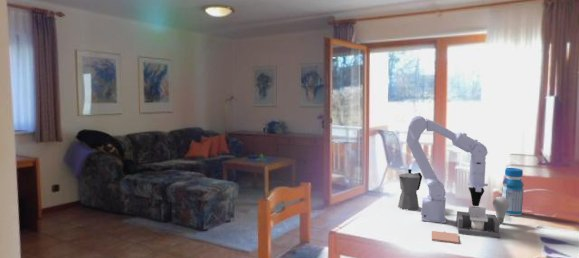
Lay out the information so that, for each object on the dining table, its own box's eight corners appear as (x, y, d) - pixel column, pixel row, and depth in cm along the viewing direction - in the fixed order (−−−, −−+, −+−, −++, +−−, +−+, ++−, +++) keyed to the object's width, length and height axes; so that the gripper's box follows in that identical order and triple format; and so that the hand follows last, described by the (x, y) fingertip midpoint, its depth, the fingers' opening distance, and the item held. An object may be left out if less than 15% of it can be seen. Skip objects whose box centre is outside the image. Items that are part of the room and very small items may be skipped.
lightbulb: (510, 225, 163) (512, 199, 162) (494, 224, 164) (495, 198, 163) (505, 221, 169) (507, 195, 168) (489, 220, 170) (491, 194, 169)
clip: (470, 219, 154) (470, 211, 153) (468, 214, 161) (468, 206, 161) (487, 221, 152) (488, 213, 151) (484, 215, 159) (485, 207, 159)
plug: (471, 232, 154) (472, 220, 154) (470, 229, 159) (471, 217, 158) (484, 234, 153) (484, 222, 153) (482, 230, 157) (483, 218, 157)
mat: (431, 240, 146) (432, 238, 146) (431, 232, 154) (431, 230, 154) (459, 243, 143) (459, 241, 143) (457, 235, 151) (457, 233, 151)
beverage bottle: (513, 217, 175) (516, 171, 173) (496, 211, 183) (498, 168, 181) (526, 215, 178) (529, 170, 177) (509, 210, 186) (512, 166, 184)
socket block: (458, 233, 153) (459, 220, 153) (456, 223, 166) (456, 211, 165) (499, 238, 149) (500, 224, 148) (494, 227, 161) (495, 214, 161)
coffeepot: (407, 212, 180) (409, 172, 179) (390, 207, 188) (392, 168, 187) (428, 207, 189) (430, 168, 188) (412, 202, 197) (413, 165, 196)
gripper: (490, 176, 156) (488, 211, 157) (485, 170, 169) (484, 202, 170) (470, 175, 158) (468, 209, 159) (467, 169, 172) (465, 200, 173)
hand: (475, 205), depth 165 cm, fingers closed
